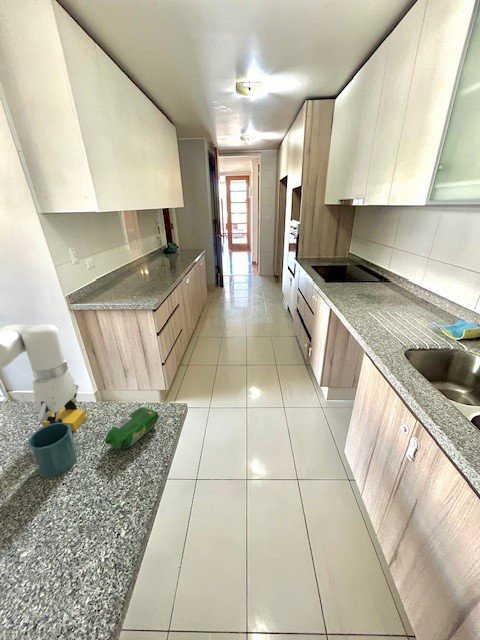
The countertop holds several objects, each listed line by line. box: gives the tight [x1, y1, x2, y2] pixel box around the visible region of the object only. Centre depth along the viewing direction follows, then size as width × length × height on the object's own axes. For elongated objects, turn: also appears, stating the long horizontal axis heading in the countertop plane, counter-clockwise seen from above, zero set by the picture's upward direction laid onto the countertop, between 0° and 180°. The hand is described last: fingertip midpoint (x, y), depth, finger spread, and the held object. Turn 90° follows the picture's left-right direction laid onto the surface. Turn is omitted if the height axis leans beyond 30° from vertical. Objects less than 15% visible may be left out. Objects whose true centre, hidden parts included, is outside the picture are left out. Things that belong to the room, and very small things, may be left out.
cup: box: [27, 423, 79, 479], centre depth 63 cm, size 8×8×9 cm
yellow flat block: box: [41, 408, 87, 432], centre depth 76 cm, size 9×6×3 cm, turn 87°
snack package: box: [104, 406, 160, 454], centre depth 72 cm, size 7×16×5 cm, turn 152°
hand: (65, 422), depth 76 cm, fingers closed on yellow flat block, 5 cm apart
